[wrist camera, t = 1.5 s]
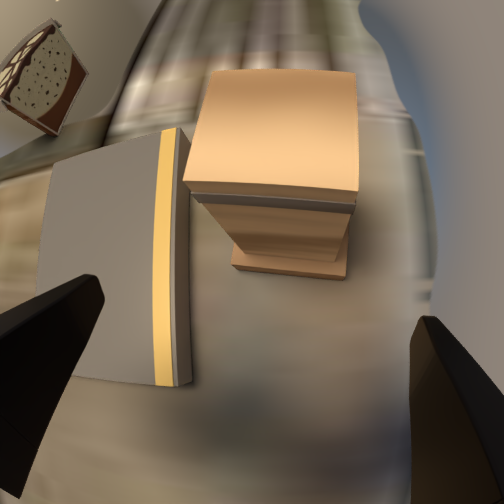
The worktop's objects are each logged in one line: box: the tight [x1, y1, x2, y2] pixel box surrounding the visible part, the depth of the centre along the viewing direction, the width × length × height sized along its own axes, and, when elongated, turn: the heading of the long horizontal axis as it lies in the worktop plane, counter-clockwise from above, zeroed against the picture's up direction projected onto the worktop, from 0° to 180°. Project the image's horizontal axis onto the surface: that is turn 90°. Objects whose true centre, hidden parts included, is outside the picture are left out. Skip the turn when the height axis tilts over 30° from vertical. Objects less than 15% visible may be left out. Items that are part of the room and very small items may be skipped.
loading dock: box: [36, 128, 192, 386], centre depth 22 cm, size 18×13×3 cm
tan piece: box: [183, 69, 359, 280], centre depth 16 cm, size 6×7×12 cm
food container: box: [0, 18, 89, 136], centre depth 25 cm, size 12×6×10 cm, turn 171°
